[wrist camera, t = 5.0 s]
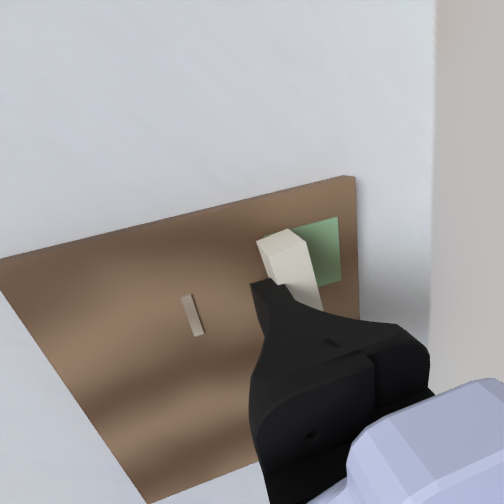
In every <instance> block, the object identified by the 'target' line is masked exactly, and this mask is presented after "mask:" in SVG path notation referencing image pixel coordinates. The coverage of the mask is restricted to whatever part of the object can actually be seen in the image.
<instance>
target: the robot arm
mask: <svg viewBox="0 0 504 504" xmlns="http://www.w3.org/2000/svg"><path fill="white" fill-rule="evenodd" d="M250 288H251V292H252V297H253V301H254V305H255V309H256V314H257V318H258V321H259V324H260V326H261V329H262V332H263V334H264V337H265V338H264V342H263V346H262V349H261V352H260V355H259V358H258V361H257V363H256V366H255V368H254V370H253V372H252V375H251V380H250V390H249V406H248V414H249V425H250V430H251V435H252V439H253V443H254V447H255V450H256V453H257V456H258V460H259V463H260V466H261V469H262V472H263V476H264V480H265V484H266V489H267V493H268V497H269V501H270V504H504V384H503V383H502V382H500V381H499V380H497V379H495V378H485V379H480V380H474V381H470V382H468V383H465V384H463V385H461V386H458V387H455V388H453V389H451V390H448V391H445V392H443V393H441V394H438V395H435V394H434V393H433V392H432V391H431V390H430V389H429V388H428V380H429V371H430V355H429V353H428V350H427V348H426V347H425V346H424V345H423V344H421V343H420V342H419V341H418V340H417V339H415V338H414V337H413V336H412V335H411V334H409V333H408V332H407V331H406V330H404V329H403V328H401V327H400V326H399V325H397V324H390V323H380V322H370V321H363V320H357V319H351V318H347V317H342V316H338V315H334V314H331V313H327V312H324V311H321V310H318V309H315V308H312V307H310V306H307V305H305V304H302V303H300V302H298V301H296V300H295V299H294V297H293V296H292V294H291V293H290V291H289V290H288V288H287V287H286V285H285V284H281V285H277V284H276V283H275V281H274V280H273V279H271V278H267V279H264V280H263V281H262V280H261V281H257V282H254V283H251V284H250Z"/></svg>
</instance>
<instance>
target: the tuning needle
mask: <svg viewBox="0 0 504 504" xmlns="http://www.w3.org/2000/svg"><path fill="white" fill-rule="evenodd" d="M256 243H257V246H258V249H259V251H260V254H261V257H262V260H263V263H264V266H265V269H266V272H267V274H268V277H269V278H271V279H273V280H274V281H275V283H276V284H277V285H281V284H285V285H286V287H287V288H288V290H289V291H290V293H291V294H292V296H293V297H294V299H295V300H296V301H298V302H300V303H302V304H305V305H307V306H310V307H312V308H315V309H318V310H321V311H324V310H323V306H322V302H321V299H320V295H319V291H318V287H317V283H316V279H315V275H314V271H313V267H312V263H311V260H310V256H309V252H308V248H307V244H306V241H304V240H303V239H301V238H300V237H299V236H297V235H296V234H295V233H293V232H292V231H291V230H289V229H285V230H283V231H280V232H278V233H275V234H273V235H270V236H268V237H265V238H263V239H260V240H258V241H256Z"/></svg>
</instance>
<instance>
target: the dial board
mask: <svg viewBox="0 0 504 504" xmlns="http://www.w3.org/2000/svg"><path fill="white" fill-rule="evenodd" d="M285 229H289V230H291V231H292V232H293V233H295V234H296V235H297V236H299V237H300V238H301V239H303V240H304V241H306V244H307V248H308V252H309V256H310V260H311V263H312V267H313V271H314V275H315V279H316V283H317V287H318V291H319V295H320V299H321V302H322V306H323V310H324V312H327V313H331V314H334V315H338V316H342V317H347V318H351V319H357V320H360V315H359V283H358V251H357V218H356V186H355V177H353V176H345V175H343V176H339V177H335V178H330V179H326V180H322V181H318V182H314V183H310V184H306V185H302V186H298V187H293V188H289V189H285V190H281V191H277V192H273V193H269V194H265V195H261V196H256V197H252V198H248V199H244V200H240V201H236V202H232V203H228V204H224V205H219V206H215V207H211V208H207V209H203V210H199V211H195V212H191V213H187V214H182V215H178V216H174V217H170V218H166V219H162V220H158V221H154V222H150V223H145V224H141V225H137V226H133V227H129V228H125V229H121V230H117V231H113V232H108V233H104V234H100V235H96V236H92V237H88V238H84V239H80V240H76V241H71V242H67V243H63V244H59V245H55V246H51V247H47V248H43V249H39V250H34V251H30V252H26V253H22V254H18V255H14V256H10V257H6V258H2V259H0V291H1V292H2V294H3V295H4V296H5V298H6V299H7V301H8V302H9V304H10V305H11V307H12V308H13V310H14V311H15V312H16V314H17V315H18V317H19V318H20V320H21V321H22V323H23V324H24V326H25V327H26V328H27V330H28V331H29V333H30V334H31V336H32V337H33V339H34V340H35V342H36V343H37V344H38V346H39V347H40V349H41V350H42V352H43V353H44V355H45V356H46V358H47V359H48V360H49V362H50V363H51V365H52V366H53V368H54V369H55V371H56V372H57V374H58V375H59V376H60V378H61V379H62V381H63V382H64V384H65V385H66V387H67V388H68V390H69V391H70V392H71V394H72V395H73V397H74V398H75V400H76V401H77V403H78V404H79V406H80V407H81V408H82V410H83V411H84V413H85V414H86V416H87V417H88V419H89V420H90V422H91V423H92V424H93V426H94V427H95V429H96V430H97V432H98V433H99V435H100V436H101V438H102V439H103V440H104V442H105V443H106V445H107V446H108V448H109V449H110V451H111V452H112V454H113V455H114V456H115V458H116V459H117V461H118V462H119V464H120V465H121V467H122V468H123V470H124V471H125V472H126V474H127V475H128V477H129V478H130V480H131V481H132V483H133V484H134V486H135V487H136V488H137V490H138V491H139V493H140V494H141V496H142V497H143V499H144V500H145V502H146V503H147V504H151V503H154V502H156V501H159V500H161V499H164V498H166V497H169V496H171V495H174V494H177V493H179V492H182V491H184V490H187V489H189V488H192V487H194V486H197V485H199V484H202V483H204V482H207V481H209V480H212V479H214V478H217V477H219V476H222V475H225V474H227V473H230V472H232V471H235V470H237V469H240V468H242V467H245V466H247V465H250V464H252V463H255V462H257V461H259V460H258V456H257V453H256V450H255V447H254V443H253V439H252V435H251V430H250V425H249V414H248V406H249V390H250V380H251V375H252V372H253V370H254V368H255V366H256V363H257V361H258V358H259V355H260V352H261V349H262V346H263V342H264V338H265V337H264V334H263V332H262V329H261V326H260V324H259V321H258V318H257V314H256V309H255V305H254V301H253V297H252V292H251V288H250V284H251V283H254V282H257V281H261V280H262V281H263V280H264V279H267V278H269V277H268V274H267V272H266V269H265V266H264V263H263V260H262V257H261V254H260V251H259V249H258V246H257V243H256V241H258V240H260V239H263V238H265V237H268V236H270V235H273V234H275V233H278V232H280V231H283V230H285Z"/></svg>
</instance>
